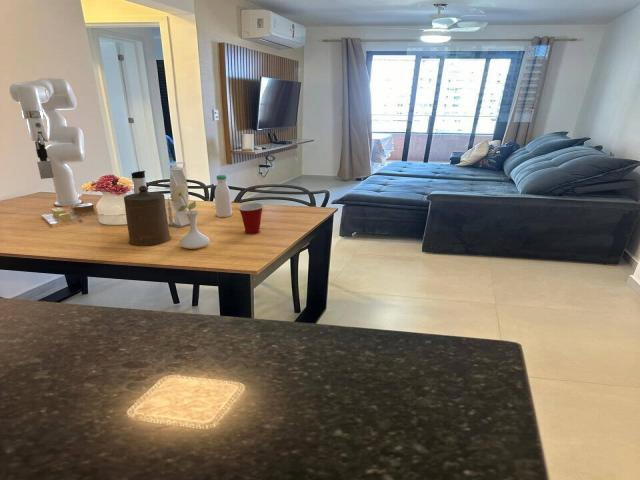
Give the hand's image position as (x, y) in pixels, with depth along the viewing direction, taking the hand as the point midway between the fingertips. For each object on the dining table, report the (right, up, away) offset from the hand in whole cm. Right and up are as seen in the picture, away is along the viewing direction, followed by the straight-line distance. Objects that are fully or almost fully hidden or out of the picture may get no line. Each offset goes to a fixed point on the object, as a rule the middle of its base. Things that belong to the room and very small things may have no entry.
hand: (42, 157), depth 173 cm
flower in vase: (+77, -41, -26) cm, 91 cm away
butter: (+3, -26, +7) cm, 27 cm away
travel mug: (+33, -22, +27) cm, 48 cm away
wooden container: (+57, -38, -19) cm, 71 cm away
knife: (0, -9, +3) cm, 10 cm away
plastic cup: (+97, -34, -7) cm, 103 cm away
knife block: (+10, -25, +14) cm, 31 cm away
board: (+5, -28, +6) cm, 29 cm away
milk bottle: (+78, -26, +18) cm, 84 cm away
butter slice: (+10, -29, 0) cm, 30 cm away
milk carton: (+63, -31, +2) cm, 70 cm away
